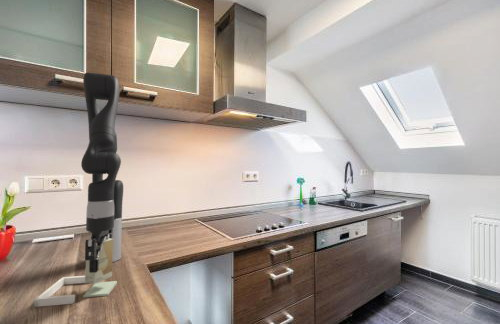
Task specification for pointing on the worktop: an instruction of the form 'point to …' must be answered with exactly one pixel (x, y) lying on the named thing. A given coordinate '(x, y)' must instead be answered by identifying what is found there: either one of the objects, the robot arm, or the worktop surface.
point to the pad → (100, 289)
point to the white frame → (56, 300)
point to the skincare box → (101, 264)
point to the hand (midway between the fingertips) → (99, 266)
